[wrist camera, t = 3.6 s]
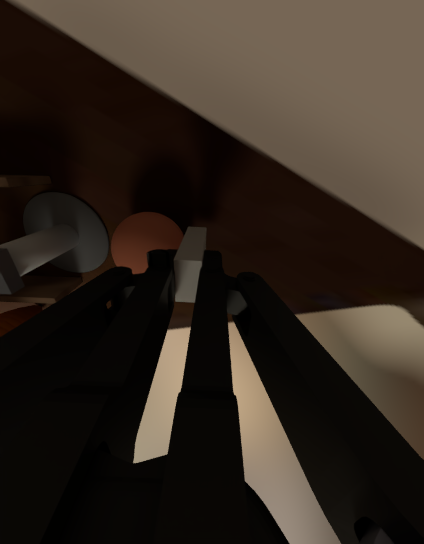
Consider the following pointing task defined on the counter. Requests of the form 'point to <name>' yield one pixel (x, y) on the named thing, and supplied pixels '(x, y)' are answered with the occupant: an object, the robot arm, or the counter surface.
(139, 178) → the counter surface
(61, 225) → the pin
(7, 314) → the carrot
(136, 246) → the ball
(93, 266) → the pin disc
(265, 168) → the counter surface
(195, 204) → the counter surface
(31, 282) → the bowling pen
